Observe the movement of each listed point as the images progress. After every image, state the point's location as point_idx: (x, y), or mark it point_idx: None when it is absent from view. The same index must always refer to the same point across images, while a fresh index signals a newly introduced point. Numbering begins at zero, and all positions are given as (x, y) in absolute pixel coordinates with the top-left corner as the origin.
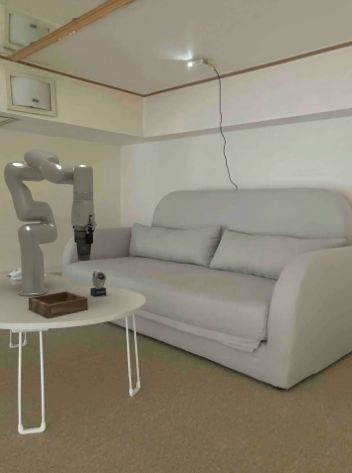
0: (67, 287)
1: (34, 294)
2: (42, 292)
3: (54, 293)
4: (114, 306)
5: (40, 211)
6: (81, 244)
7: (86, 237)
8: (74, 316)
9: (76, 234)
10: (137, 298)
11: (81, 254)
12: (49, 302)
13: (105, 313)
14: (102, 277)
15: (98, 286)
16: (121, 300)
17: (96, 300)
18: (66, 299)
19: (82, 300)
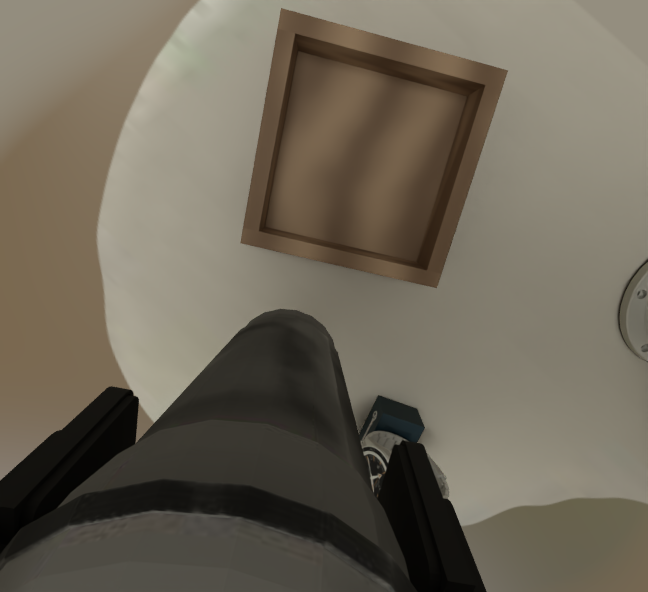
0: (605, 450)
1: (644, 269)
2: (627, 307)
3: (456, 221)
4: (198, 330)
5: None
6: (207, 374)
7: (43, 455)
8: (217, 128)
9: (242, 441)
10: None
11: (248, 329)
12: (443, 182)
13: (148, 235)
14: None
15: (372, 434)
16: None
17: None
18: (409, 261)
19: (246, 214)
